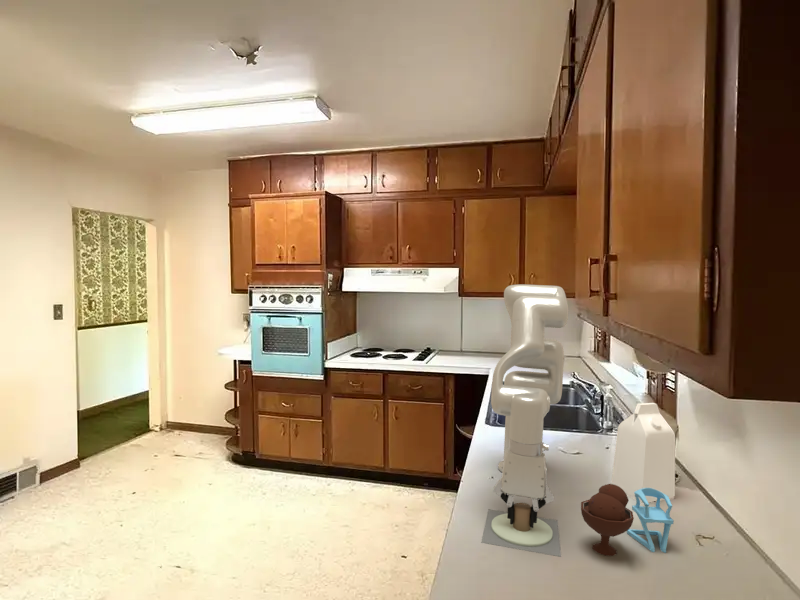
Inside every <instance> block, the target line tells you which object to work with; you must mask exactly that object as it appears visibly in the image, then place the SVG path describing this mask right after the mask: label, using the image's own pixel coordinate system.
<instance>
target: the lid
mask: <svg viewBox="0 0 800 600" xmlns="http://www.w3.org/2000/svg"><path fill="white" fill-rule="evenodd" d="M531 507H532V505H530V504H528V503H525V502H515V503H514V519H513V524H510V519H508V518H507V516H508V513H507V514H501V515H498V516H496V517H495V518H494V519H493V520H492V525H491V528H492V531H493V532H494V534H495V535H496V536H498V537H499V538H501V539H502V540H504V541H506V542H509V543H511V544H515V545H519V546H526V547H537V546H542V545H545V544H547V543H549V542H550V541H551V540H552V535H553V532H552V529H551V527H550V526H549V525H548V524H547V523H545V522H544V521H542V520H540V519H538V518H537V523H534V525H533V528H531V527H530V521H531Z"/></svg>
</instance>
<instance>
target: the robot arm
mask: <svg viewBox="0 0 800 600" xmlns="http://www.w3.org/2000/svg"><path fill="white" fill-rule="evenodd" d="M503 299H504V304H505V308H506V311H507V313H508V316H509V318H510V322H511V323H510V324H511V328H510V349H509V350H508V351H507V352H506V353H505V354H503V356H502V357H501V358H500V359H499V360H498V362H497V363H496V365H495V367H494V370H493V374H492V378H491V379H492V381H491V382H492V383H491V396H490V403H491V404H490V405H491V408H492V411H493V412H494V413H495V414H496V415H500V416H504V417H505V420H504V421H505V422H504V423H505V424H504V443H503V444H504V445H503V460H502V461H500V462H499V463H498V470H499V471H500V472H502V473H501V478H499V480H498V481H497V482H496V484H495V485H494V486H493V489H492V490H493V493H495V494H496V495H498V496H499V498H500V499H501V500H502V501H503V502H504V503H505V505H506V506H507V512H508V516H507V518H508V519H510V524H513V519H514V504H515V503H514V499H515V497H524V498H530V499H531V501H532V504H531V521H530V527H531V528H533V525H534V523H537V517H538V512H539V510H540V509H541V508H543V507H544V506H545V505H546V504H549V503H551V502H553V501H554V500H555V496H554V494H553V492H552V491H551V488H550V487H549V486H548V484H547V459H546V454H545V453H544V451H545V452H546V451H549V449H550V445H549V444H546V443H544V442H543V439H544V438H543V436H544V434H543V433H544V418H545V417H546V416H547V413H549V412H550V408H551V405H555V404H558V403H559V402H561V399H562V394H563V380H564V379H563V377H564V361H565V358H564V357H565V353H564V346H563V344H562V342H560V341H559V340H557V339H554V338H553V339H552V338H545V328H555V329H561V328H564V327H565V326H566V325H567V323H568V319H569V306H568V305H569V304H568V299H567V295H566V293H565V290H564V289H563V287H561V286H559V285H550V284H549V285H545V284H544V285H543V284H525V283H524V284H523V283H522V284H520V283H519V284H511V285H508V286H507V287H506V288H505V289H504V291H503ZM513 367H518V368H523V369H532V370H534V369H536V370H545V371H546V372H537V371H528V370H527V371H526V370H514V371H510V372H509V373H507V372H508V371H509V370H510V369H512V368H513ZM506 373H507V374H506ZM505 374H506V375H505Z"/></svg>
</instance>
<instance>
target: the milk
mask: <svg viewBox="0 0 800 600" xmlns="http://www.w3.org/2000/svg"><path fill="white" fill-rule="evenodd" d="M616 433H617V434H616V440H615V450H614V457H613V458H614V459H613V465H612V474H611V483H610V484H614V485H617V486H619V487H620V488H622V489H623V490H624V492H625V493H626V495H627V497H628V498H630V499H632V500H634V501H636V497H635V494H634V492H635V491H637V490H639V489H642V488H652V489H655V490H658V491H660V492H662V493H664V494H666V495H667V496H668V497H673V496H675V497H676V435H675V431H674V430H673V429H672V427H671V426H670V425H669V423H668V422H667V421H666V419H665V417H663V415H662V414H661V413H660V409H659V406H658V403H655V402H642V403H637V404H636V405H635V409H634V412H633V413H632V414H631V415H630V416H629V417H626V419H623V420H622V421H621V422H620V423H619V424H618V427H617V432H616ZM645 497H646V499H647V501H648V502H651V503H653V502H652V501H656V500H657V498H656V497H653V496H645ZM638 498H639V497H638ZM661 499H663V498H661ZM639 500H640V505H641V504H642V503H643V502H642V500H641V499H640V498H639ZM642 505H643V504H642Z"/></svg>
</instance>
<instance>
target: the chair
mask: <svg viewBox="0 0 800 600" xmlns="http://www.w3.org/2000/svg"><path fill="white" fill-rule="evenodd" d="M634 494H635V497H636V500H635V504H634V505H631V510H632V512H633V513H635V515H637V518H638V519H639V521H640V524H641V527H642V528H643V529H634V528H632V529H631V528H630V529H629V530H627V531H626V534H627V535H628V536H630V537H631V538H633V539H634V540H635V541H637V542H638V543H639V544H640V545H642V546H644V547H645V548H646V549H648V550H649V551H650V552H651V553H655V551H656V548H655V544H654V541H653V538H652V537H651V536H657V540H658V545H659V549H660V551H661V552H662V553H665V554H666V553H667V545H668V540H669V539H668V538H669V535H670V531H671V527H672V525H674V521H675V520H674V519H673V518H672V517H671V516H670V515H671V510H672V508H673V504H672V502H671V500H670V499H669V497H668V496H667V495H666V494H664V493H662V492H660V491H658V490H655V489H652V488H642V489H639V490H637V491H635V492H634ZM645 496H653V497H656V498H657V501H656V502H655V506H650V503H648V501H647V499H646V497H645ZM638 497H639V498H640V499H641V500H642V502H643V503H644V504H643V505H641V503H640V500H639V498H638ZM661 498H663V499H664V500H665V503H666V505H667V509H666V510H665V511H664V510H663V509H662V508H661V501H660V499H661ZM651 523H653V524H654V523H660V524H663V532H661V531H659V530H652V529H651V530H650V529H649V528H648V525H647V524H651ZM640 535H645V537H646V539H644V538H643V537H642V536H640Z"/></svg>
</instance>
